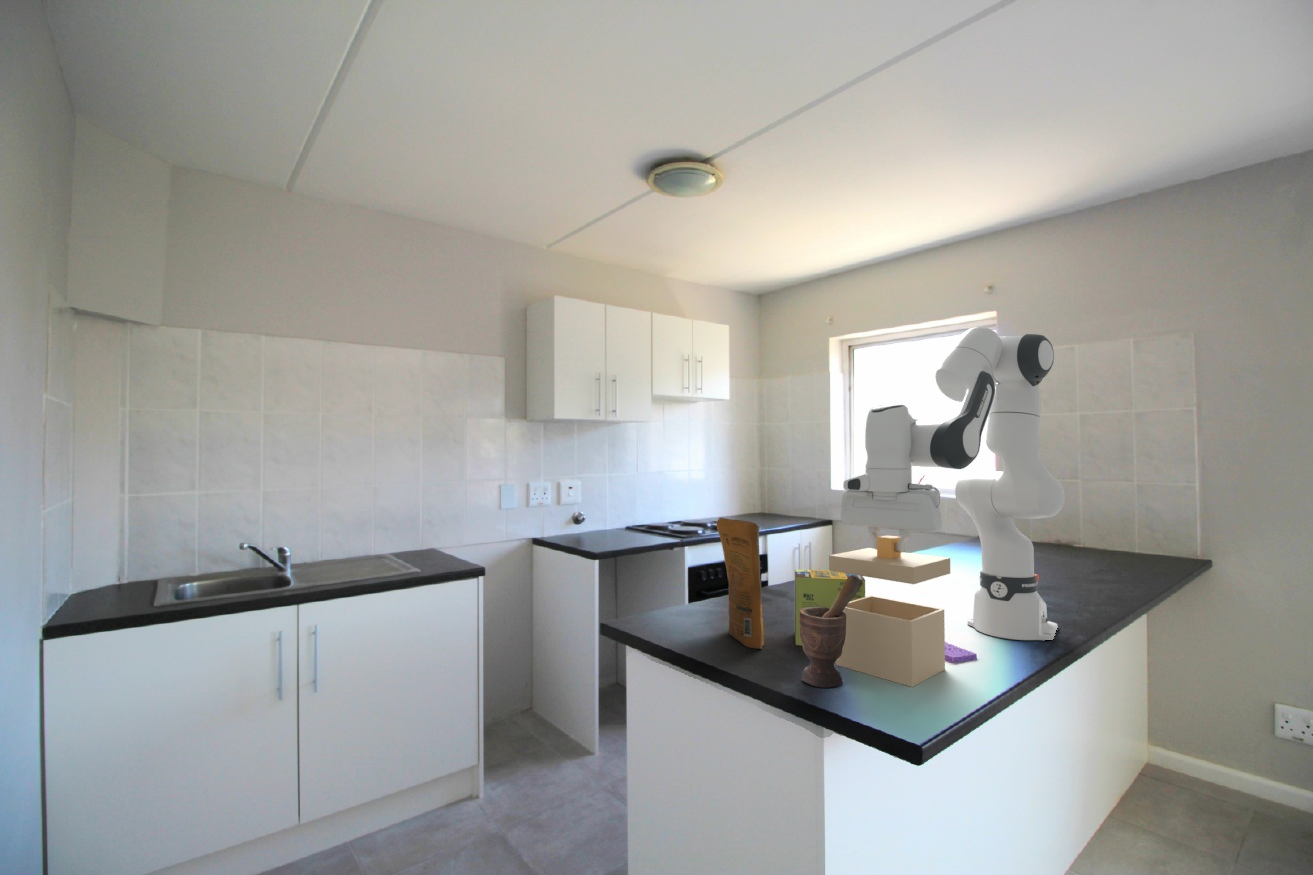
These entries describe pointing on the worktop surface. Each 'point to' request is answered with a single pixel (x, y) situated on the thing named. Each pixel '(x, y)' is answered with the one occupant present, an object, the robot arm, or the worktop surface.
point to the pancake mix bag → (743, 580)
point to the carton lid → (890, 563)
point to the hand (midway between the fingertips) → (889, 550)
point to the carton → (893, 640)
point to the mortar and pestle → (826, 636)
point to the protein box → (819, 591)
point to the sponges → (957, 654)
